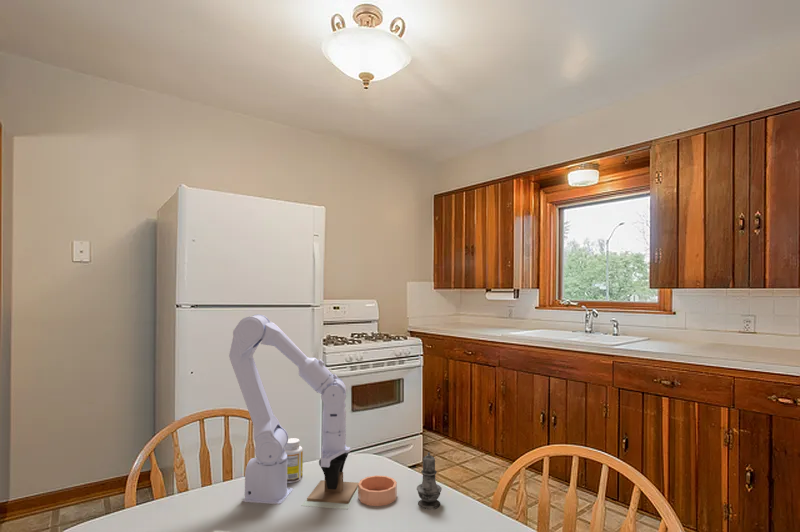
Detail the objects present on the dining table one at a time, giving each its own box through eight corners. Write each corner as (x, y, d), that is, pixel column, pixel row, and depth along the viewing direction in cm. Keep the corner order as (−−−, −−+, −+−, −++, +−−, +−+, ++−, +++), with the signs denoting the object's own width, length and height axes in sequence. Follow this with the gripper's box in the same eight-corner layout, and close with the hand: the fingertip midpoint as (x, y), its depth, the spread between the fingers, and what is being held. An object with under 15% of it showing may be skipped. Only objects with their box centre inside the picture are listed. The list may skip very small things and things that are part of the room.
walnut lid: (307, 500, 107) (307, 480, 107) (320, 482, 117) (320, 464, 117) (348, 503, 106) (348, 483, 106) (358, 485, 115) (358, 466, 116)
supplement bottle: (292, 473, 124) (292, 435, 124) (306, 478, 120) (307, 439, 121) (276, 481, 119) (276, 441, 119) (290, 486, 116) (291, 445, 116)
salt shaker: (440, 511, 103) (439, 457, 103) (414, 508, 104) (414, 455, 104) (443, 499, 108) (442, 448, 109) (418, 497, 110) (418, 446, 110)
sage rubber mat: (301, 507, 105) (301, 505, 105) (320, 481, 118) (320, 480, 119) (347, 510, 103) (347, 509, 103) (362, 484, 117) (362, 482, 117)
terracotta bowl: (354, 505, 105) (354, 490, 105) (363, 488, 114) (363, 474, 114) (392, 508, 104) (392, 493, 104) (399, 491, 113) (398, 476, 113)
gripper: (341, 440, 104) (341, 500, 104) (357, 421, 119) (357, 474, 118) (312, 438, 105) (311, 498, 105) (331, 420, 120) (330, 473, 119)
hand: (333, 485), depth 111 cm, fingers closed on walnut lid, 2 cm apart
